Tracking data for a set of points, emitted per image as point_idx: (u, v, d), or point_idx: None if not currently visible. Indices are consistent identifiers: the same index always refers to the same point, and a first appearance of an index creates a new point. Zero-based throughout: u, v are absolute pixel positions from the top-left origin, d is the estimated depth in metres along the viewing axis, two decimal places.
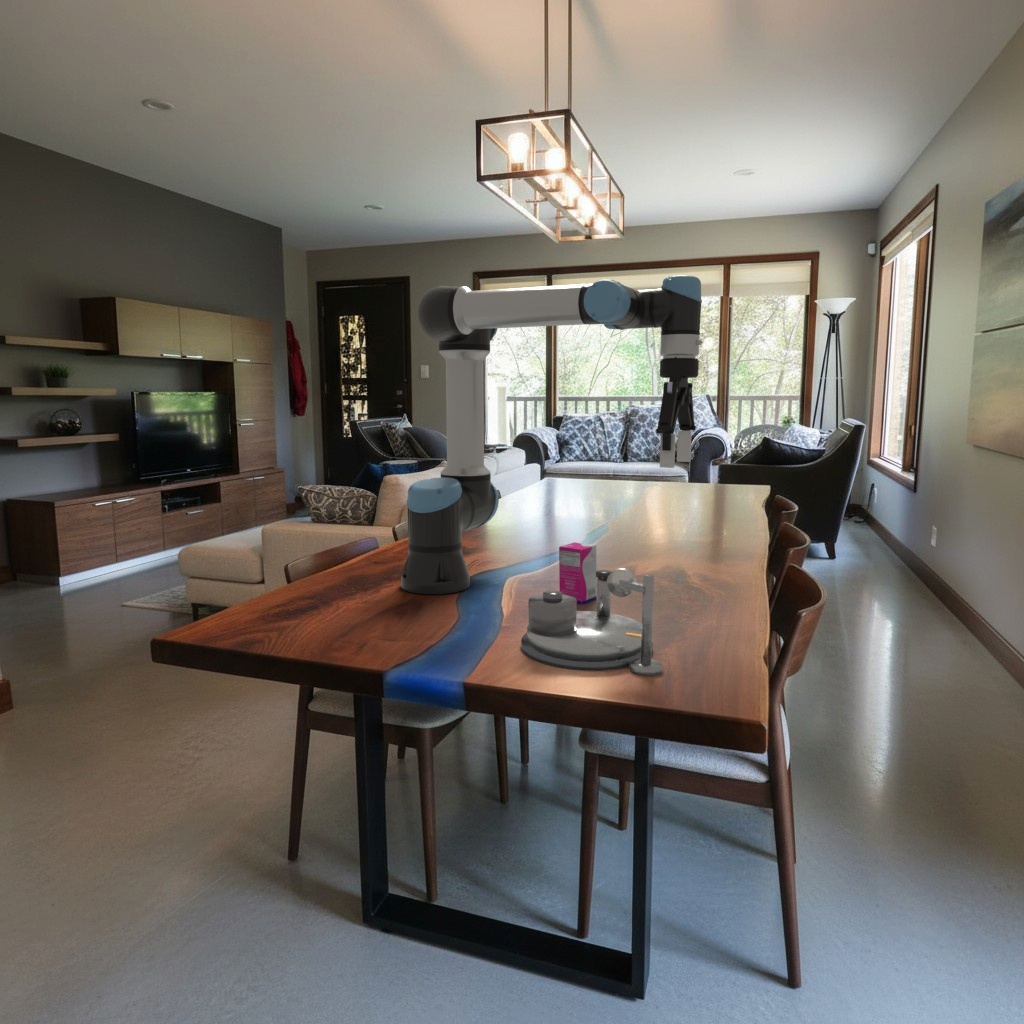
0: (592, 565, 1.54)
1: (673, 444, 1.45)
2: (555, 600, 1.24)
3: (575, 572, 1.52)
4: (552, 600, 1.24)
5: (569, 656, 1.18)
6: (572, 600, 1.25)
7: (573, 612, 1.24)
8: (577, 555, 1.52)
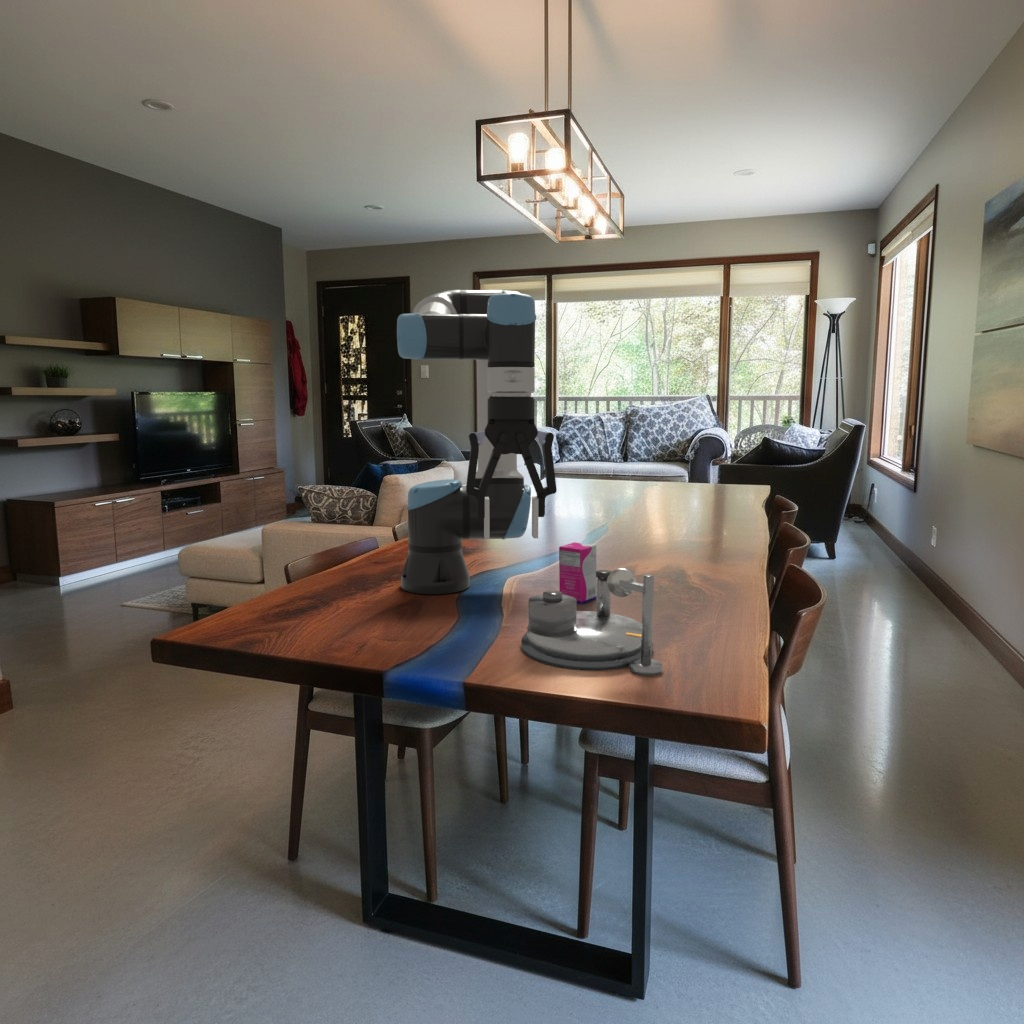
0: (592, 565, 1.54)
1: (485, 511, 1.21)
2: (555, 600, 1.24)
3: (575, 572, 1.52)
4: (552, 600, 1.24)
5: (569, 656, 1.18)
6: (572, 600, 1.25)
7: (573, 612, 1.24)
8: (577, 555, 1.52)
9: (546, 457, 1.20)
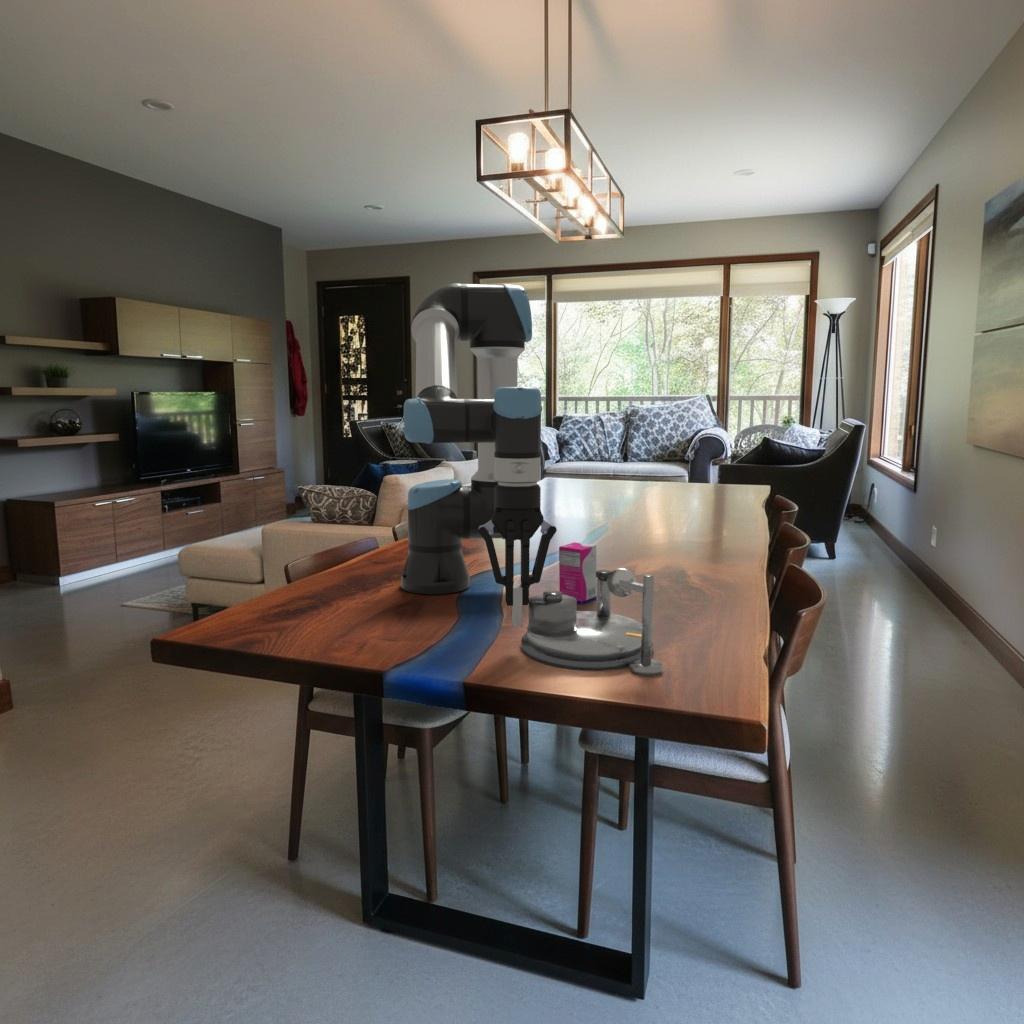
0: (592, 565, 1.54)
1: (513, 599, 1.24)
2: (555, 600, 1.24)
3: (575, 572, 1.52)
4: (552, 600, 1.24)
5: (569, 656, 1.18)
6: (572, 600, 1.25)
7: (573, 612, 1.24)
8: (577, 555, 1.52)
9: (542, 547, 1.23)
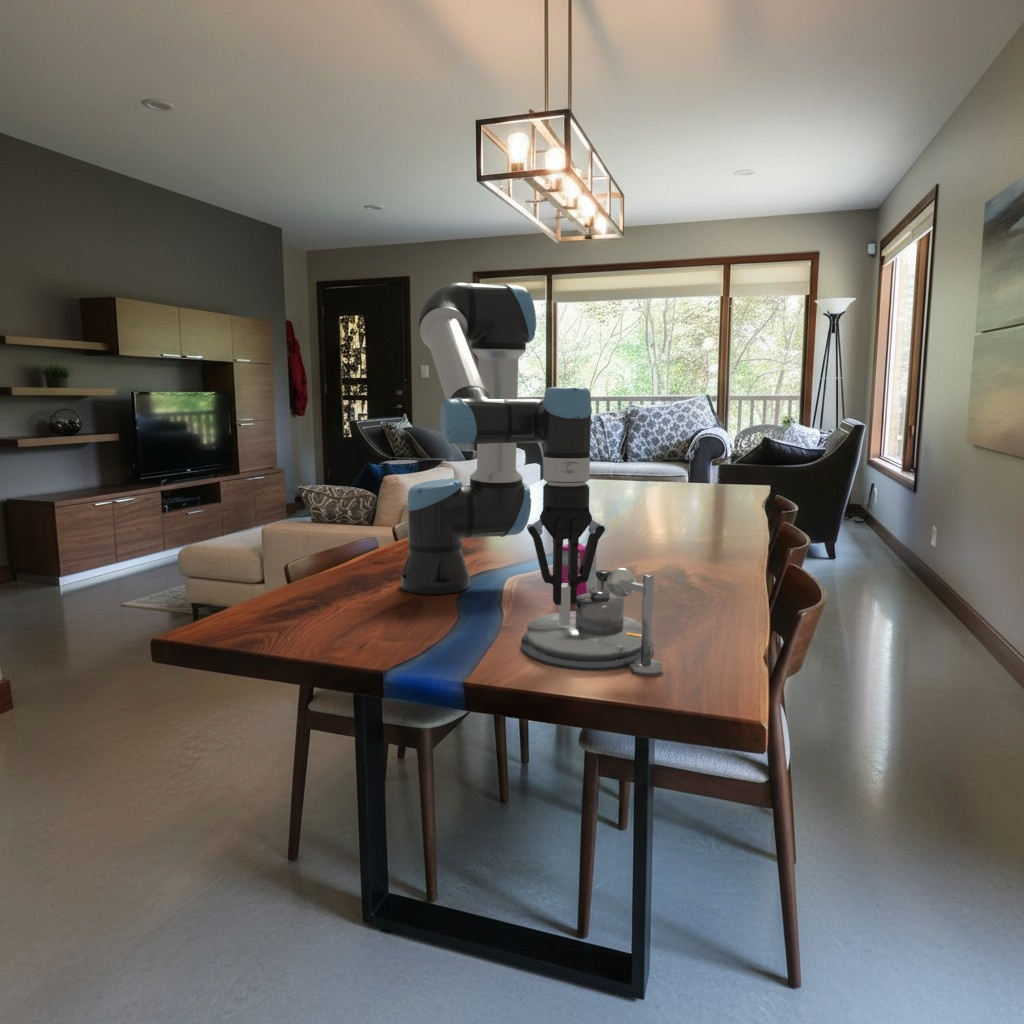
0: (592, 565, 1.54)
1: (561, 598, 1.24)
2: (603, 599, 1.25)
3: None
4: (600, 599, 1.25)
5: (569, 656, 1.18)
6: (619, 599, 1.26)
7: (621, 611, 1.24)
8: None
9: (590, 547, 1.23)
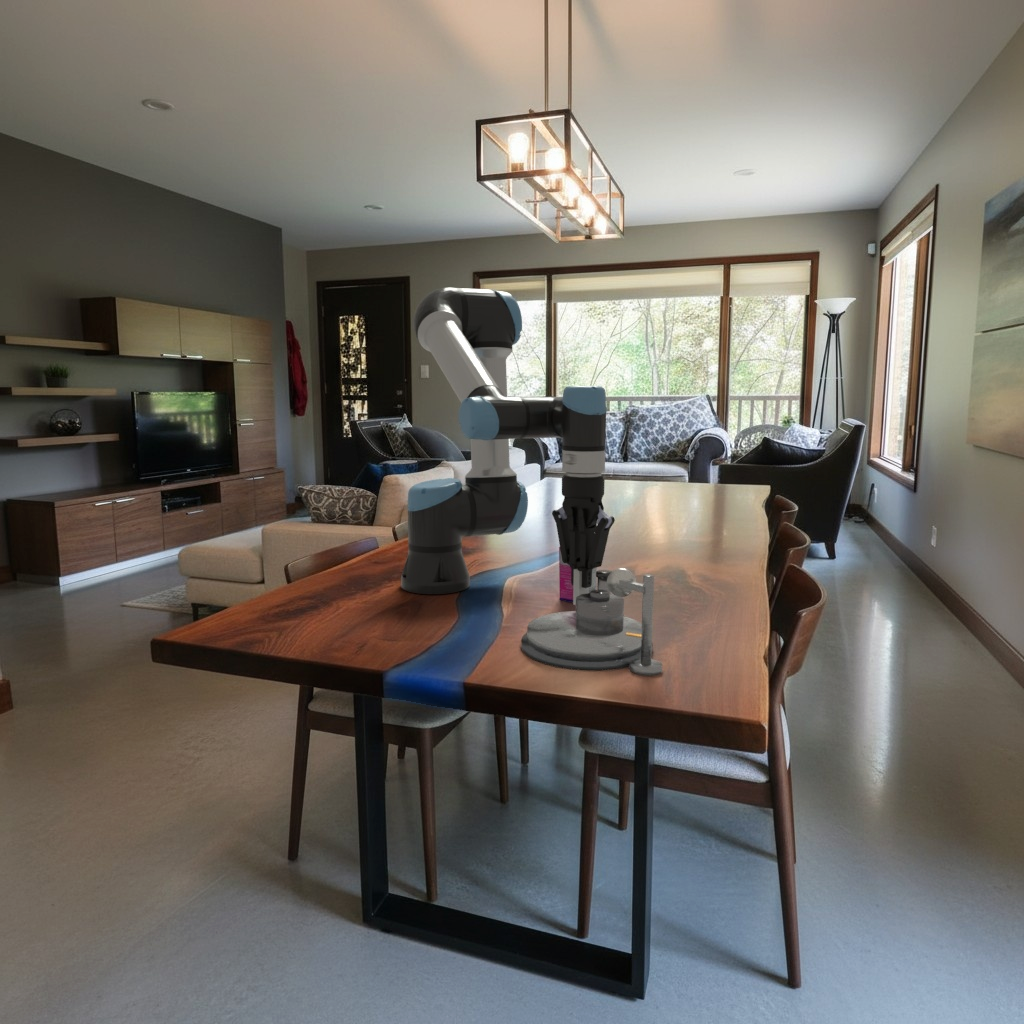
0: None
1: (574, 580, 1.36)
2: (603, 599, 1.25)
3: None
4: (600, 599, 1.24)
5: (569, 656, 1.18)
6: (619, 599, 1.26)
7: (621, 611, 1.24)
8: None
9: (594, 536, 1.31)
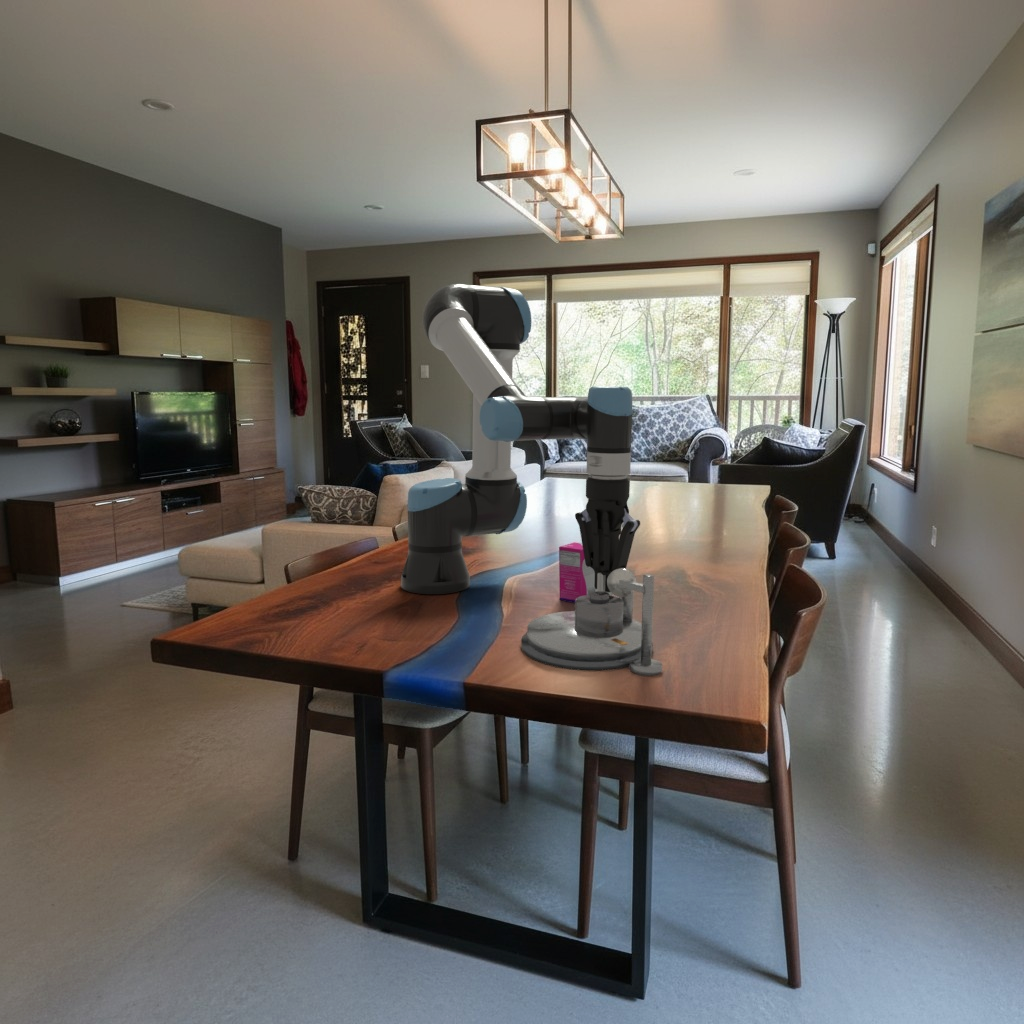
0: None
1: None
2: (597, 601, 1.23)
3: (575, 572, 1.52)
4: (594, 600, 1.24)
5: (540, 649, 1.21)
6: (617, 604, 1.23)
7: (612, 616, 1.22)
8: (577, 555, 1.52)
9: (619, 540, 1.28)
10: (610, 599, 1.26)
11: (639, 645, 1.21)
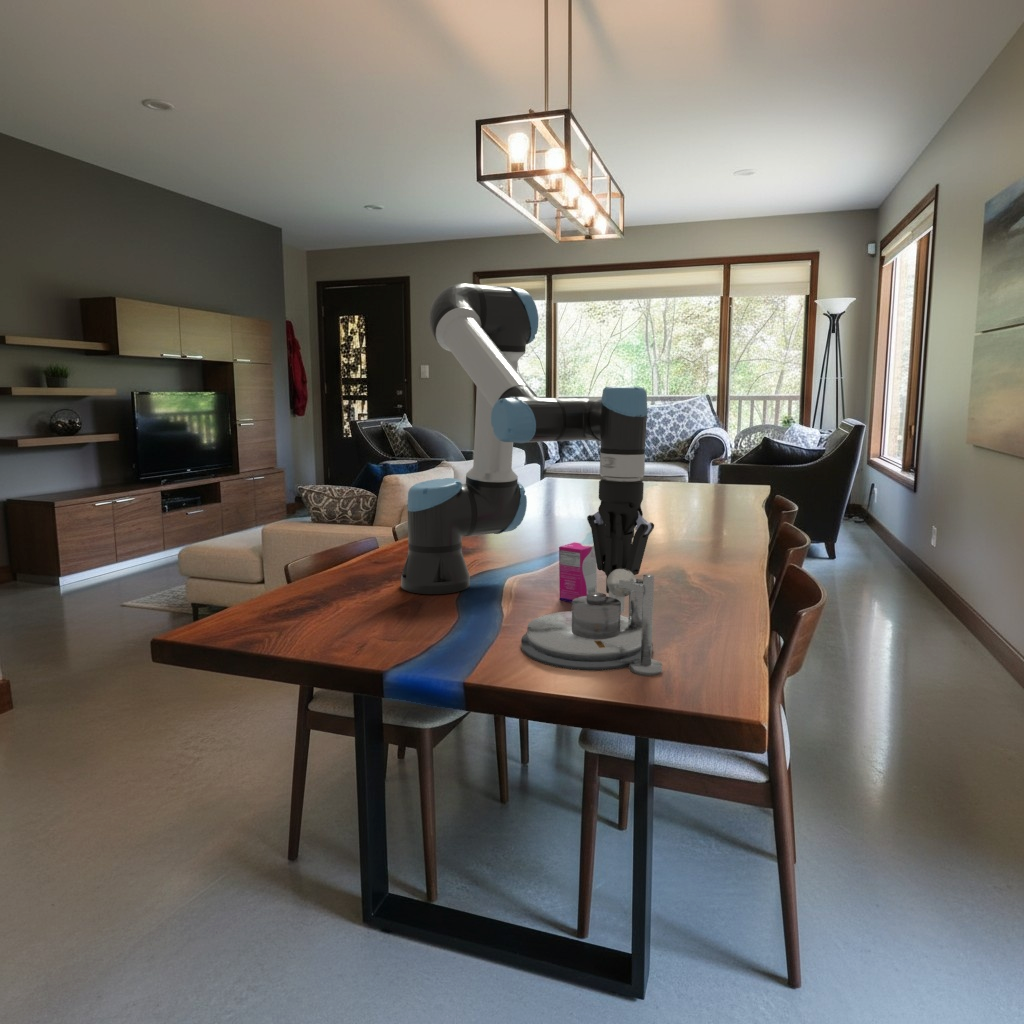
0: (592, 565, 1.54)
1: None
2: (590, 601, 1.23)
3: (575, 572, 1.52)
4: (588, 601, 1.23)
5: (529, 641, 1.25)
6: (609, 606, 1.22)
7: (599, 618, 1.21)
8: (577, 555, 1.52)
9: (633, 543, 1.26)
10: (609, 602, 1.24)
11: (622, 651, 1.18)
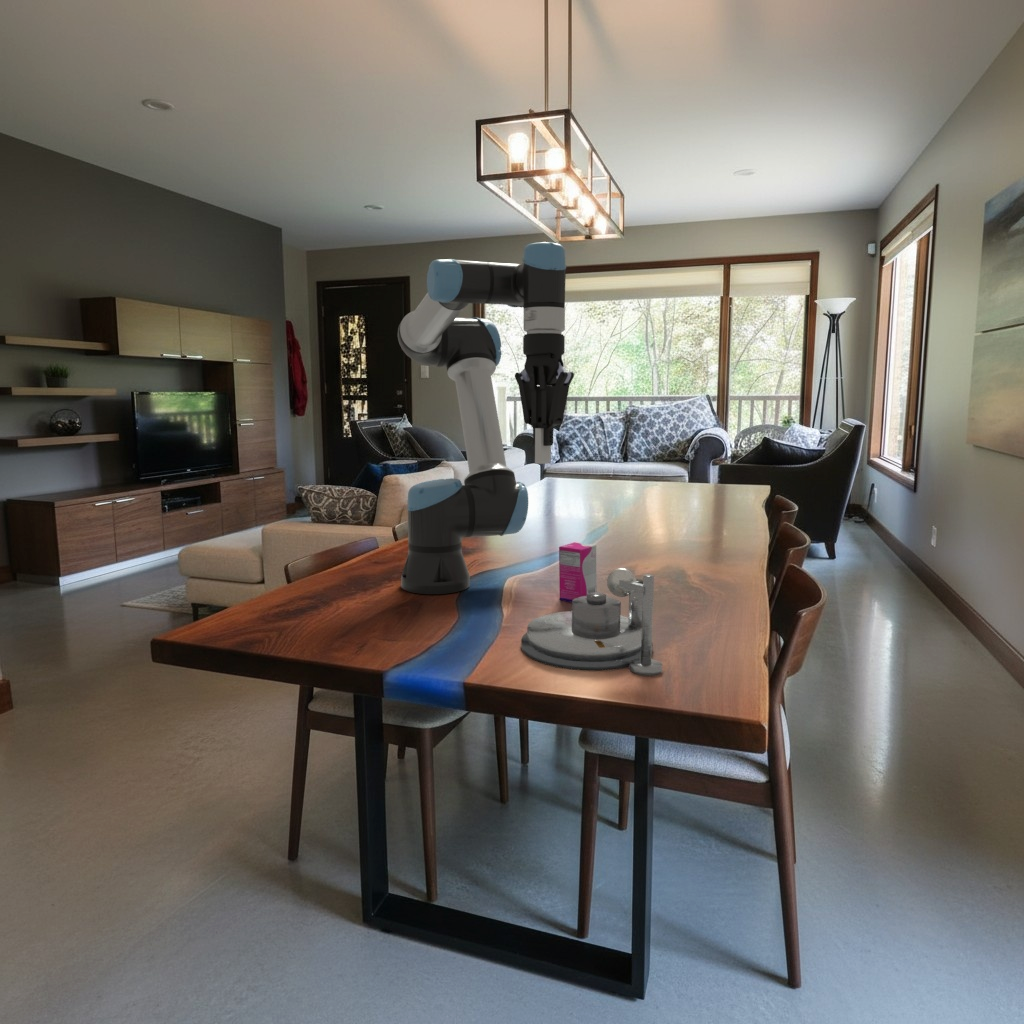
0: (592, 565, 1.54)
1: None
2: (590, 601, 1.23)
3: (575, 572, 1.52)
4: (588, 601, 1.23)
5: (529, 641, 1.25)
6: (609, 606, 1.22)
7: (599, 618, 1.21)
8: (577, 555, 1.52)
9: (554, 391, 1.35)
10: (609, 602, 1.24)
11: (622, 651, 1.18)
